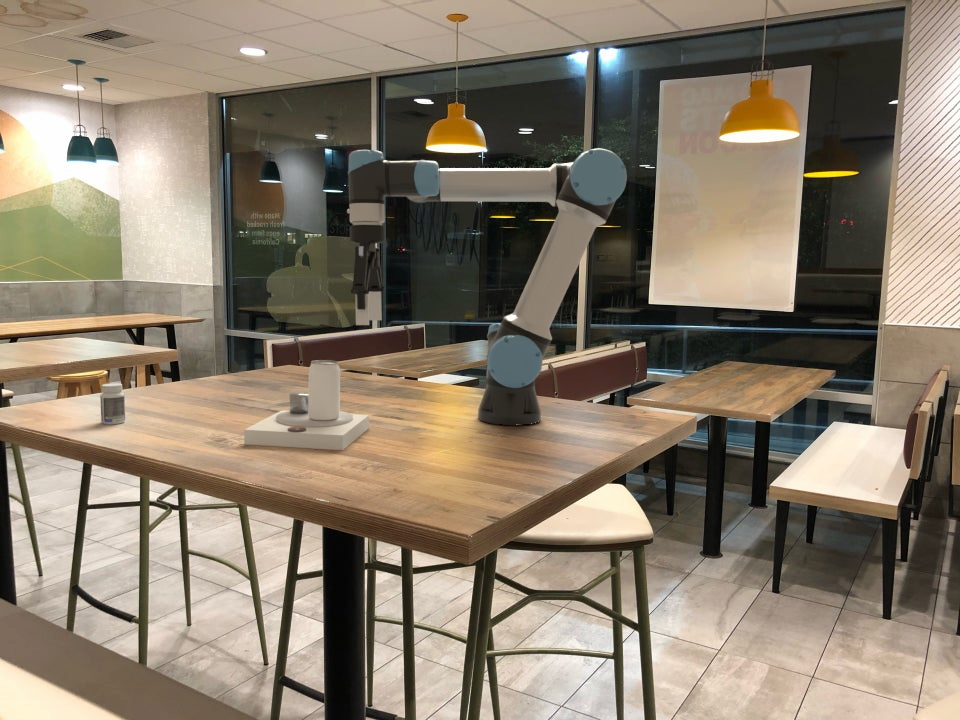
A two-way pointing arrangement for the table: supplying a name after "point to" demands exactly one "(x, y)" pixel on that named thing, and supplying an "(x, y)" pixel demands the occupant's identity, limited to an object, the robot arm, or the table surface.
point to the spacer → (299, 403)
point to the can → (324, 390)
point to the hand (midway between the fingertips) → (369, 322)
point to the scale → (306, 431)
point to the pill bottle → (112, 404)
